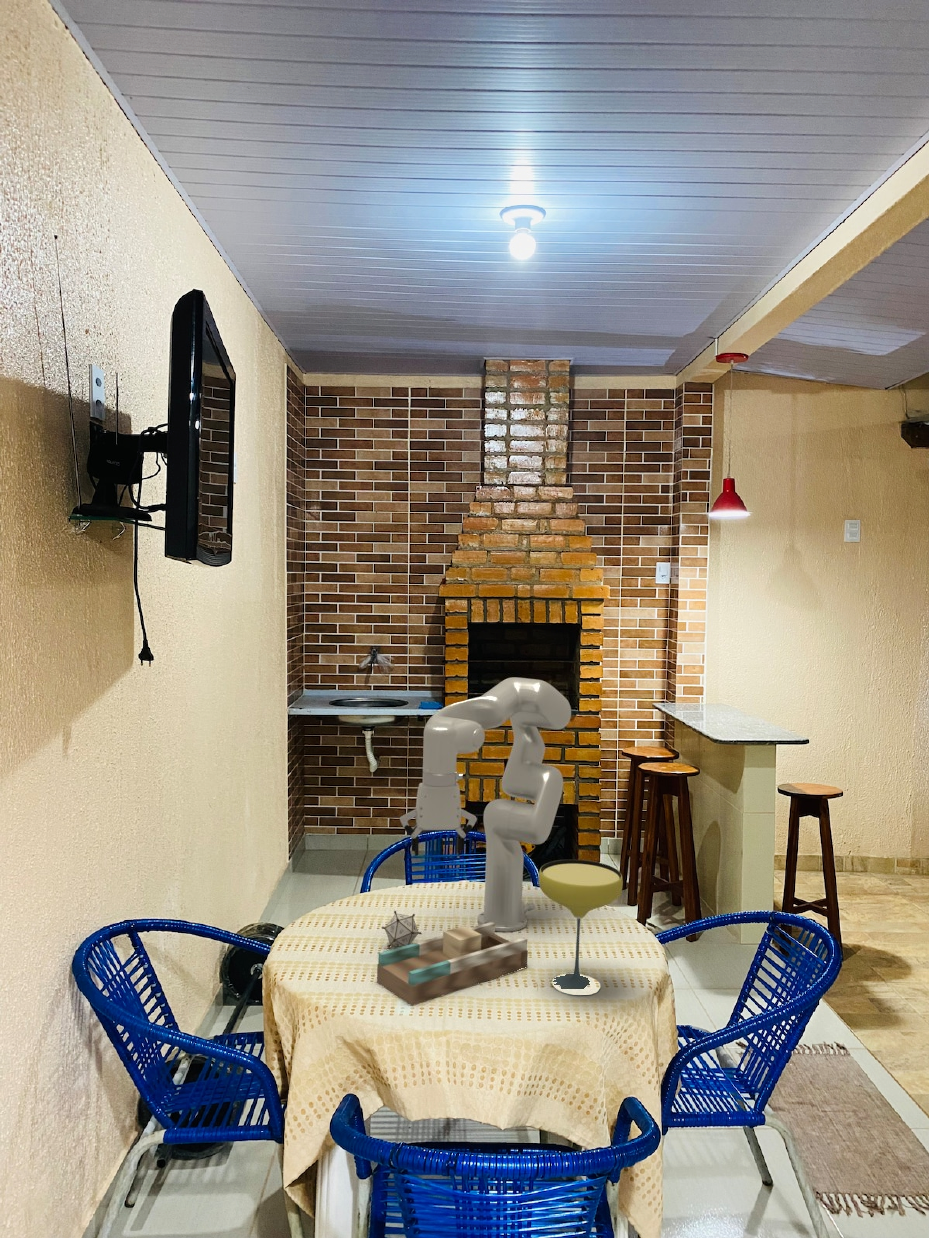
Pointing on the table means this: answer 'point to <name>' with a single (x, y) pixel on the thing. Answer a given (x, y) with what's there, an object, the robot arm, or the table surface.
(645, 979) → the table surface
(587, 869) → the cocktail glass
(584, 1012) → the table surface
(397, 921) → the game die
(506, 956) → the trap deck
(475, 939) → the maple block
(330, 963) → the table surface
